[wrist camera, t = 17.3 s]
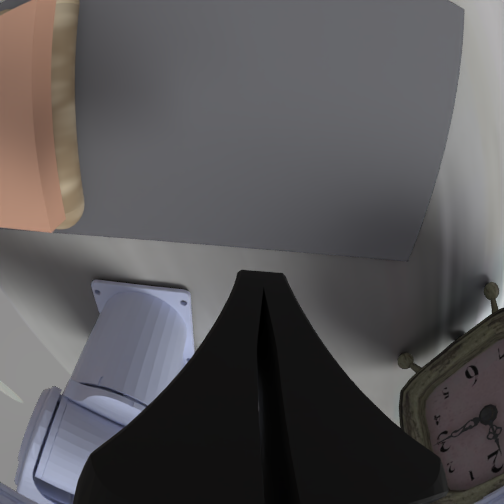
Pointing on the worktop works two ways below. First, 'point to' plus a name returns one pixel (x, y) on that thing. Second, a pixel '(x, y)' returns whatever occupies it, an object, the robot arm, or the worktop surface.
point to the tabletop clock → (462, 408)
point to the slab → (28, 120)
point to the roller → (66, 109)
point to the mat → (264, 120)
